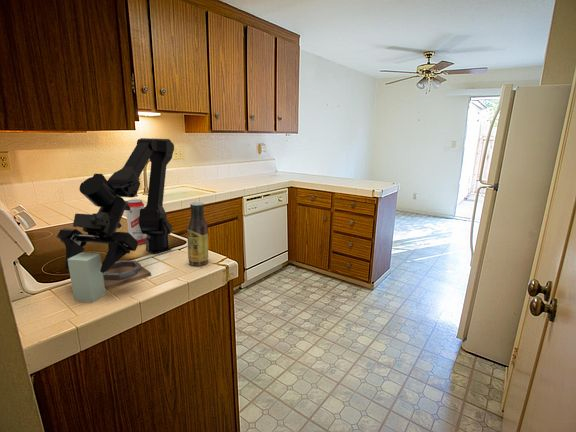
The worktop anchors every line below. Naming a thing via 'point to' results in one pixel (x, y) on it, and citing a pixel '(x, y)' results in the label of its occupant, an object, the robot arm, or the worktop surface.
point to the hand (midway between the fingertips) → (84, 270)
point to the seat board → (113, 283)
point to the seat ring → (125, 274)
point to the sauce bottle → (197, 236)
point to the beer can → (135, 220)
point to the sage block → (86, 277)
